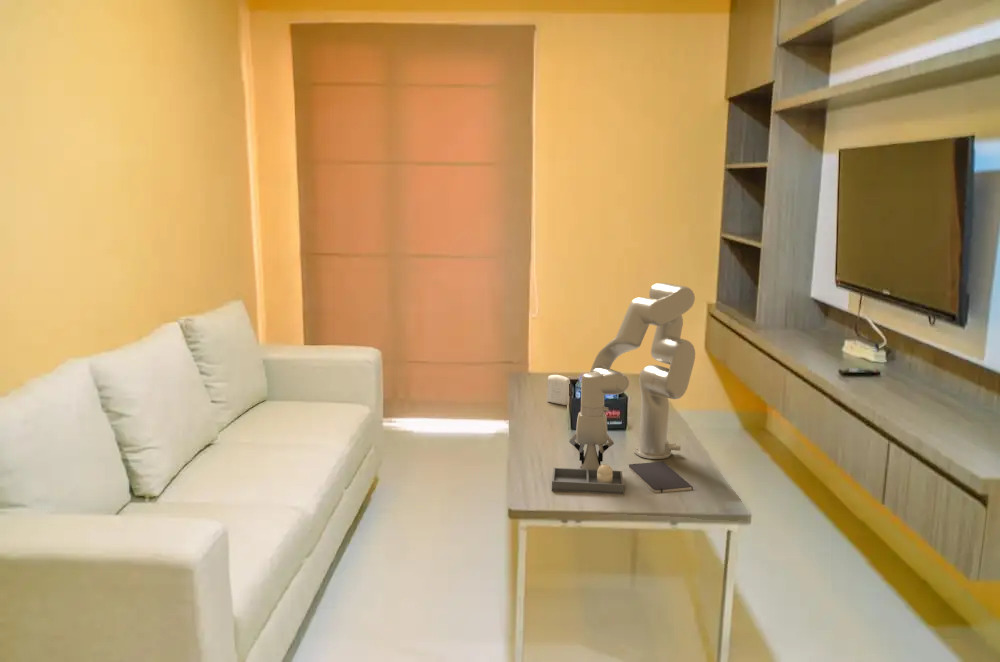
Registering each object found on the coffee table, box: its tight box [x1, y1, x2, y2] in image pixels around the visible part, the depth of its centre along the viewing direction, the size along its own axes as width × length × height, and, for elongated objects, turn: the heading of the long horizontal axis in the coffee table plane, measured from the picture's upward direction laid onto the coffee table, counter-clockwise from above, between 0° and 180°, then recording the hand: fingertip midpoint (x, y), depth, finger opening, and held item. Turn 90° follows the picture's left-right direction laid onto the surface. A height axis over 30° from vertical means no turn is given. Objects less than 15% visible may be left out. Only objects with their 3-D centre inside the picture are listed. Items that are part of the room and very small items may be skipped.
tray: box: [551, 467, 625, 495], centre depth 224 cm, size 22×11×3 cm, turn 84°
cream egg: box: [597, 463, 614, 484], centre depth 223 cm, size 5×5×6 cm
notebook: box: [628, 461, 693, 493], centre depth 230 cm, size 13×2×21 cm
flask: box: [579, 444, 602, 470], centre depth 237 cm, size 7×7×10 cm
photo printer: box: [546, 374, 571, 406], centre depth 310 cm, size 10×4×12 cm, turn 57°
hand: (590, 462), depth 238 cm, fingers closed on flask, 4 cm apart
